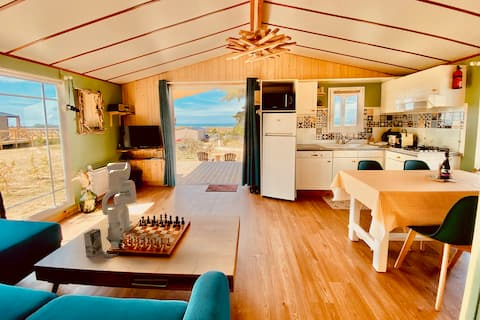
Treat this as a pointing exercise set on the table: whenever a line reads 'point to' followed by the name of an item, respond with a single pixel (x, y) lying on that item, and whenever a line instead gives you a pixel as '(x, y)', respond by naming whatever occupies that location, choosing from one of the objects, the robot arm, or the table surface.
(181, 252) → the table surface
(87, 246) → the coffee box
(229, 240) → the table surface
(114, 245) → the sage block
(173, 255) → the table surface
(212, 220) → the table surface
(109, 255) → the grey round disc
